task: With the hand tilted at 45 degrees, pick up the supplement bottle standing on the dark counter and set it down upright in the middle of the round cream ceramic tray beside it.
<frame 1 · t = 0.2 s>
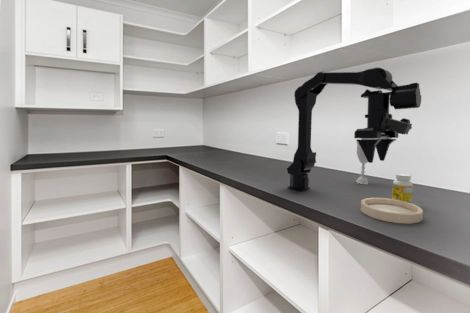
hand: (376, 161, 77), 14 cm above the counter, tool pointing down, fingers open, 9 cm apart
chalice: (362, 183, 110), on the counter
round tray: (389, 213, 72), on the counter
supplement bottle: (400, 204, 81), on the counter
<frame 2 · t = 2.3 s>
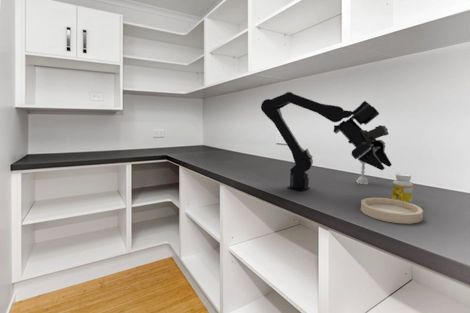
hand: (387, 167, 83), 11 cm above the counter, tool tilted 45°, fingers open, 9 cm apart
nothing on the counter moved.
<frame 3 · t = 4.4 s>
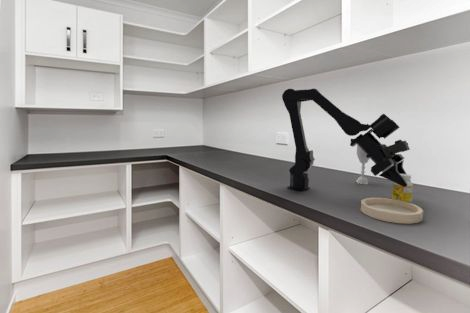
hand: (407, 184, 79), 7 cm above the counter, tool tilted 45°, fingers closed on supplement bottle, 5 cm apart
supplement bottle: (400, 204, 81), on the counter, touching gripper
everything else where it was.
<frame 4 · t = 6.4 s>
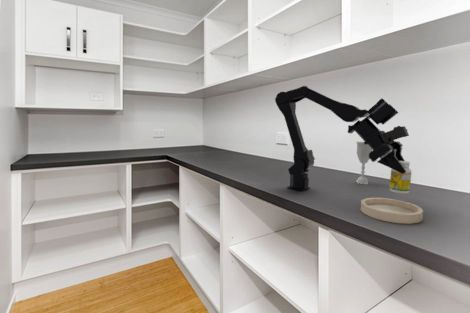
hand: (406, 171, 77), 11 cm above the counter, tool tilted 45°, fingers closed on supplement bottle, 5 cm apart
supplement bottle: (398, 191, 79), point 4 cm above the counter, touching gripper
everything else where it was.
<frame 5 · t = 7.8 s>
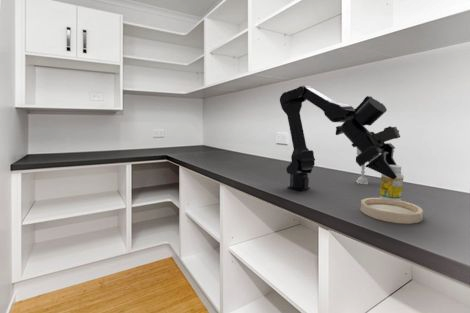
hand: (397, 176, 70), 11 cm above the counter, tool tilted 45°, fingers closed on supplement bottle, 5 cm apart
supplement bottle: (390, 199, 72), point 4 cm above the counter, touching gripper
everything else where it was.
when the fingers open (9 cm above the counter, at t = 8.7 s): supplement bottle drops 1 cm, resting on round tray.
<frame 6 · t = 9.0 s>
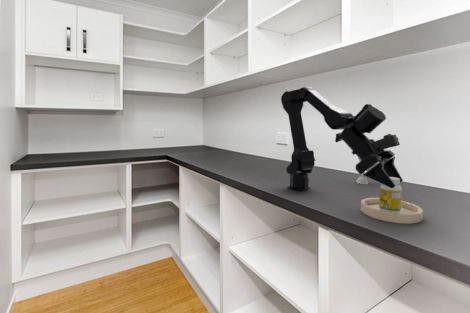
hand: (397, 184, 70), 9 cm above the counter, tool tilted 45°, fingers open, 9 cm apart
supplement bottle: (389, 210, 72), point 1 cm above the counter, touching round tray
everything else where it was.
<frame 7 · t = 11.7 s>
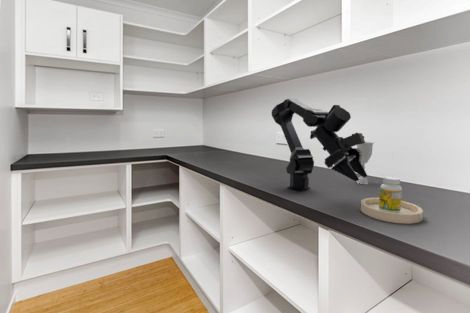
hand: (361, 178, 77), 9 cm above the counter, tool tilted 45°, fingers open, 9 cm apart
nothing on the counter moved.
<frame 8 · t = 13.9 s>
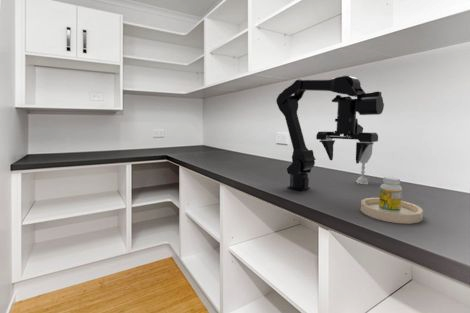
hand: (343, 161, 85), 13 cm above the counter, tool pointing down, fingers open, 9 cm apart
nothing on the counter moved.
at the end: supplement bottle 0.2 cm off-centre on the round tray, point 0.6 cm above the round tray's base; supplement bottle tilted 0°; the gripper is holding nothing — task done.
